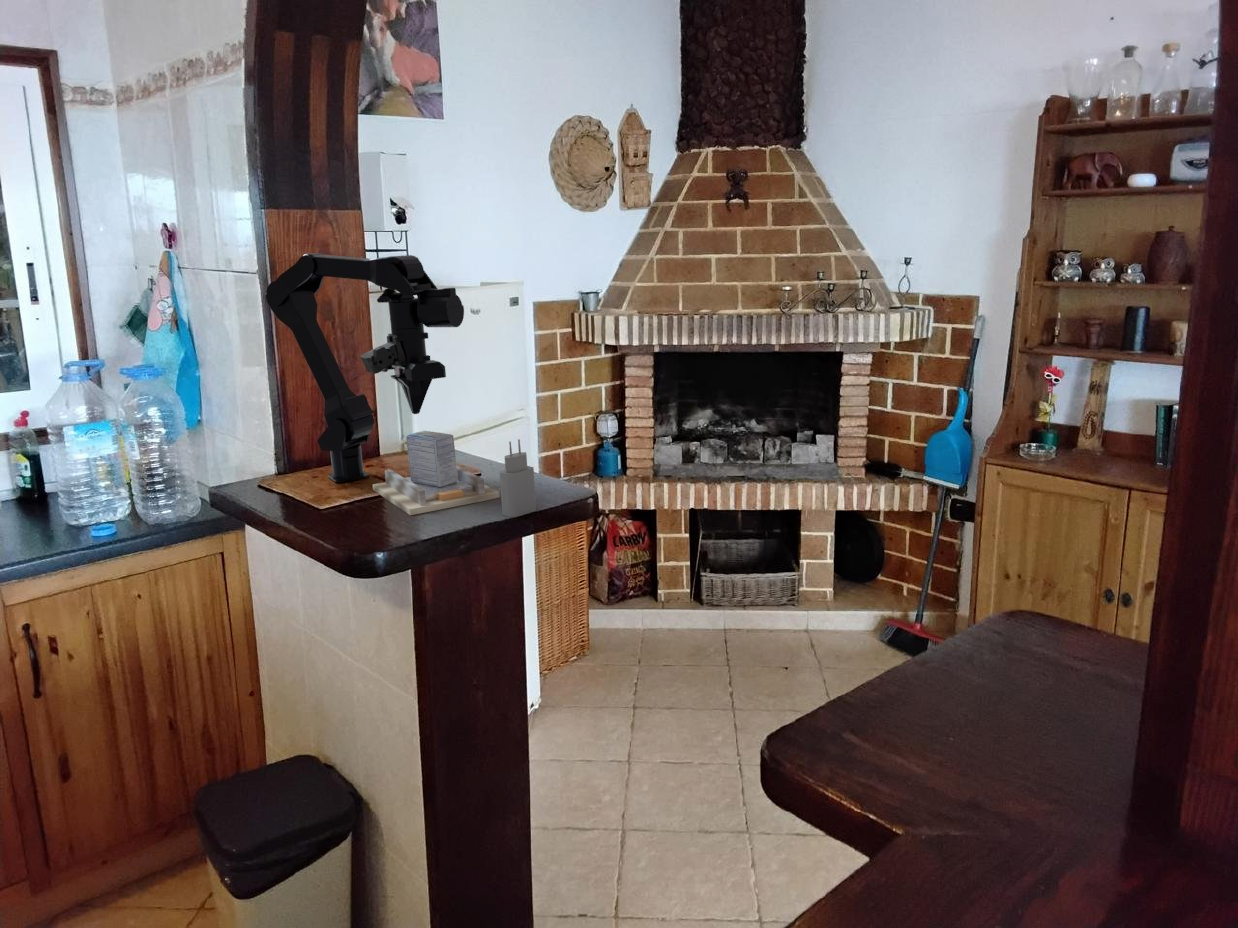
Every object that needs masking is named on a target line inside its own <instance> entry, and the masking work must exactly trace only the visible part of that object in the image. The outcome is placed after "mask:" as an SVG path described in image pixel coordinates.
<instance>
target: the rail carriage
mask: <svg viewBox="0 0 1238 928" xmlns="http://www.w3.org/2000/svg"><path fill="white" fill-rule="evenodd" d="M404 478H405V479H407V480H409V481H410V482H411V477H410V476H407V477H404ZM412 483H414V484H415V485H417V486H419V487H420V488H422V489H424V490H425V498H426V501H429V500H434V499H439V500H440V501H443V500H449V499H454V498H459V497H463V494H466V493H471V492H473V486H471V485H469V484H467V483H465V482H463V481H461V480H459V479H458V481H457V482H456V483H453V484H449V485H446V486H443V487H437V486H432V485H427V484H422V483H416V482H412Z"/></svg>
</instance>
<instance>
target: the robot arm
mask: <svg viewBox="0 0 1238 928" xmlns="http://www.w3.org/2000/svg"><path fill="white" fill-rule="evenodd" d="M325 277H327V278H328V277H329V278H338V279H347V280H350V279H351V280H360V281H366V282H370V283H372V284H374V285H376V286H378V287H380V288H385V289H384V291H383V292H382V293H381V295H380V296H379V297H378V298H377V299H376V302H377V303H379V304H380V303H382V304H383V303H388V311H389V322H390V324H389V325H390V331H391V333H387V336H386V343H383V344H381V345H379V346H377V347H375V348H372V349H371V350H369V351H367V352H364V353H363V354H361V355H360V359H361V361H362V363H363V365H364V367H365V369H366V371H367V373H371V374H372V375H377V374H379V373H381V372H383V373H387V372H388V371H391V370H394V374H393V375H390V377H391V379H393V380H394V381H396V382H397V383H398V384H400V386H401V387H402V390H403V393H404V395H405V398H406V400H407V403H408V406H409V408H410V412H411V414H413V415H417V414H420V412H421V409H422V406H423V403H424V401H425V398H426V396H427V393H428V390H429V387H430V386H431V383H432V381H433V380H435V379H436V380H437V379H443V378H446V377H447V374H446V366H445V365H444V364H443V363H442V362H441V361H438V360H433V359H431V355H428V354H427V350H426V349H427V348H426V339H429V332H426V331H425V327H426V328H459V327H460V326H461V325H462V323H463V321H464V316H465V307H464V305H463V302H462V300H461V298H460V297H459V296H458V294H457V293H456V292H457V291H456V287H445V288H437V286H436V285H435V283H434V282H433V280H432V279H431V277H430V276H429V275H428V274H427V272H426V271H425V270H424V266H423V264H422V262H421V261H420V259H419V257H417V256H415V255H412V254H411V255H409V254H408V255H407V254H406V255H393V256H392V255H391V256H385V257H384V256H383V257H376V258H368V257H367V258H366V257H356V256H355V257H353V256H344V255H343V256H342V255H332V254H331V255H330V254H324V253H323V252H319V253H317V252H315V253H312V252H311V253H305V254H303V255H301V257H300V258H298V259H297V261H296V262H295V263H294V264H293V265H292V266H290V267H288V268H287V269H286V270H285V271H283V272H282V273H280V275H279V276H278V277H277V278H276V279H275V280H273V281H271V282H270V283H269V284H268V285H267V287H266V292H265V294H264V296H265V297H264V298H265V301H266V304H267V305H268V307H269V308H270V310H271V311H272V313H273V314H274V316H275V317H276V318H277V319H278V320H279V321H280V322H281V323H282V324H284V325H285V326H286V327H287V328H288V329H290V331H291V332H292V334H293V336H294V339H295V341H296V343H297V345H298V348H299V349H300V351H301V353H302V355H303V358H304V359H305V362H306V364H307V365H308V368H309V370H310V372H311V374H312V376H313V378H314V381H315V382H316V384H317V387H318V388H319V391H320V392H321V393H320V394H321V395H322V397H323V400H324V409H323V410H324V412H323V416H324V421H325V424H326V429H325V430H324V431H323V432H322V433H321V435H320V436H319V437H318V438H317V443H318V446H319V448H320V451H323V452H329V453H330V462H331V470H332V473H328V474H327V478H329V479H330V480H332V481H333V482H334V483H337V484H338V483H344V482H350V481H356V480H362V479H368V478H370V476H371V475H370V474H369V473H368V472H366V471H365V470H364V464H363V454H362V453H363V452H362V446H361V445H362V444H364V443H368V442H369V440H370V435H371V432H372V430H373V428H374V424H375V418H374V414H375V411H374V410H373V409H372V408H371V406H370V403H369V401H368V398H367V396H366V395H365V394H363V393H362V394H358V395H357V394H355V393H354V392H353V390H351V389H350V387H349V386H348V383H347V381H346V379H345V377H344V374H343V373H342V371H341V368H340V366H339V365H338V364H339V363H338V362H337V360H336V358H335V356H334V354H333V352H332V349H331V348H330V346H329V344H328V342H327V340H326V337H325V335H324V333H323V331H322V329H321V327H320V324H319V322H318V320H317V318H318V303H317V299H316V296H315V295H316V294H317V293H318V292H319V290H321V288H322V287H323V282H324V279H325ZM415 296H416V297H415Z"/></svg>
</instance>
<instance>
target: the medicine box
mask: <svg viewBox="0 0 1238 928" xmlns="http://www.w3.org/2000/svg"><path fill="white" fill-rule="evenodd" d="M405 437H406V448H407V458H408V466H409V467H408V468H409V477H411V482H416V483H422V484H427V485H432V486H437V487H443V486H446V485H449V484H453V483H456V482H457V481H458V475H457V466H458V465H457V457H456V448H455V438H454V435H453V434H451V433H444V432H437V431H430V430H422V431H418V432H414V433H411V434H408V435H406V436H405Z"/></svg>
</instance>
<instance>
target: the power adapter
mask: <svg viewBox="0 0 1238 928" xmlns="http://www.w3.org/2000/svg"><path fill="white" fill-rule="evenodd" d="M517 442H518V443H517V444H518V445H517V446H518V452H514V453H513V451H512V450H513V448H512V442H511V440H510V441H508V443H509V454H507V455H504V466H505V467H504V469H503V470H500V471H499V485H500V499H501V510H502V511H501V514H502V516H505V517H507V518H508V517H509V518H518V517H520V516H523V515H526V514H530V513H532V512H536V511H537V499H536V486H535V484H536V483H535V470H534V466H531V465H530V466H529V465H528V460H527V459H528V458H527V452H526V451H525V452H524V451H521V439H517Z"/></svg>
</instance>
